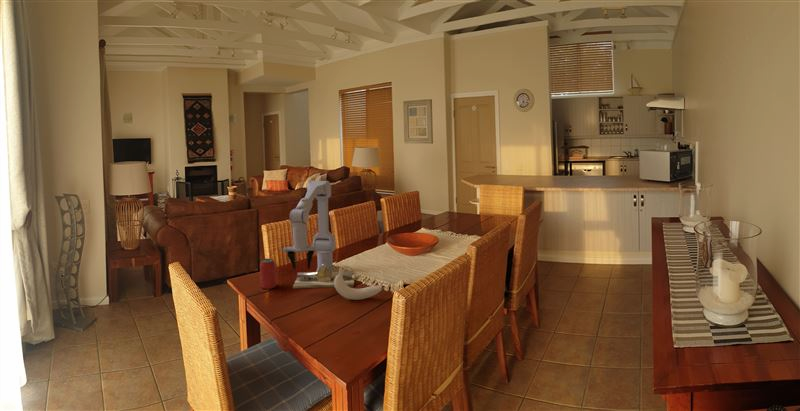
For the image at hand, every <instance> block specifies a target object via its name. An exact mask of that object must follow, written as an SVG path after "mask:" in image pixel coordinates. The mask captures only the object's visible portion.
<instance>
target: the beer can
mask: <svg viewBox="0 0 800 411" xmlns="http://www.w3.org/2000/svg"><path fill="white" fill-rule="evenodd" d="M276 269H277V268H276V263H275V260H274V258H262V259H261V260H260V263H259V273H260V274H259V275H260V278H259V279H260V285H261V286H260V287H261V288H262V289H264V290H265V289H267V290H270V289H273V288H275V287H276V286H277V284H278V283H277V270H276Z"/></svg>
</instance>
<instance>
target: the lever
mask: <svg viewBox="0 0 800 411" xmlns="http://www.w3.org/2000/svg"><path fill="white" fill-rule="evenodd" d="M326 267H327V264H326V263H324V264H322V267H321V269H320V270H319V272H318V273H319V276H324V273H325V269H326Z"/></svg>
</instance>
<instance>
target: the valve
mask: <svg viewBox="0 0 800 411" xmlns="http://www.w3.org/2000/svg"><path fill="white" fill-rule="evenodd" d="M317 268H318V267H317ZM320 269H321V267H319V268H318V271H317V272H316V271H307V272H305V271H304V272H301V271H300V272H296V274H297V275H296V276H297V277H296V279H304V281H309V280H310V279H317V280H318V282H321V281H331V280H333V278H335V277H336V276H337V275H338V274H339V271H334V270H333V271H332V267H326V269H325V273H324V276H319V273H318V272H319V270H320ZM352 274H353V271H351V270H347V271H345V270H344V272H343V274H342V276H343V280H347V279H348V278H352Z"/></svg>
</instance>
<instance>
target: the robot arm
mask: <svg viewBox="0 0 800 411" xmlns="http://www.w3.org/2000/svg"><path fill="white" fill-rule="evenodd" d="M331 197H332V185H331V182H330V181H329V180H308V181H307V184H306V193H305V196H304V197H303V198H300V200H299V202H298V204H297V205H296V207H295V208H293V209H292V210H290V212H289V222H290V225H291V226H290V227H291V228H292V240H293V246H285V247H283V248H282V253H283V254H285V253H287V257H288V258H289V260H290V262H291V266H292V269H293V270H296V267H297V264H296V253H306V252H307V253H306V259H307V269H308V270H309V269H311V264H312V263H311V262H312V260H313V255H314V253H316V255H317V257H316V258H317V260H316V261H317V269H316V271H315V272H317V271H318V268H319V267H322V264H324V263H326V264H327V267H332V271H333V272H334V268H335V266H336V265H335V264H333V252H334V251H335V250H336V247H337V246H336V244H337V242H336V237H335V235H334V234H333V233H331V232H330V230H329V198H331ZM315 199H316V200H317V223H318V224H317V225H318V228H317V230H318V231H317V233H315V234H314V236H313V241H312V245H308V231H307V228H308V226H307V223H308V221H309V216H310V211H311V209H312V207H313V202H314V200H315Z"/></svg>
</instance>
